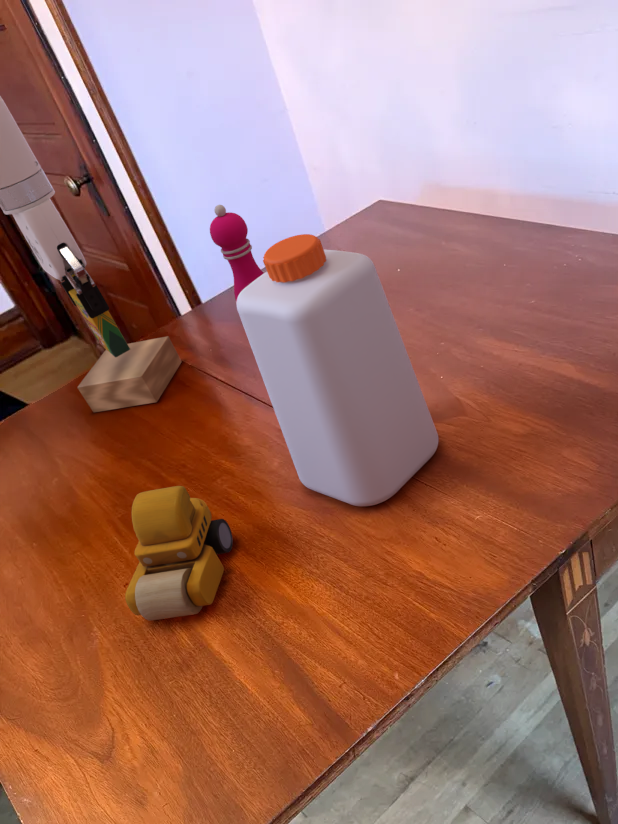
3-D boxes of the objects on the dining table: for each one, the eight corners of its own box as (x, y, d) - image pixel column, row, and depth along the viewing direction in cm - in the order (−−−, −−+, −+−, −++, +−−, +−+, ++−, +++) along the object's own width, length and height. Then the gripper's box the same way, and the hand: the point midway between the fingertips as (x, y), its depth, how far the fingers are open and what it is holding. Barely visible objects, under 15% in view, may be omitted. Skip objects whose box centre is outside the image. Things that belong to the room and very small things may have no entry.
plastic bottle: (289, 486, 94) (189, 277, 75) (365, 416, 100) (291, 209, 82) (377, 519, 85) (288, 292, 66) (454, 440, 91) (394, 214, 73)
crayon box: (100, 346, 122) (60, 280, 114) (116, 337, 123) (78, 271, 115) (114, 358, 117) (74, 290, 109) (131, 349, 118) (92, 280, 110)
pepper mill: (239, 325, 132) (188, 213, 119) (270, 305, 135) (224, 193, 121) (261, 333, 127) (210, 217, 114) (293, 312, 130) (247, 196, 117)
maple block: (93, 412, 122) (76, 387, 119) (122, 372, 131) (107, 347, 127) (157, 402, 119) (141, 375, 116) (182, 361, 128) (168, 335, 124)
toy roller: (138, 632, 82) (86, 567, 75) (172, 540, 92) (130, 476, 85) (212, 621, 80) (166, 553, 73) (238, 529, 90) (200, 462, 83)
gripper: (-15, 196, 108) (55, 306, 120) (13, 212, 96) (87, 333, 108) (33, 174, 111) (96, 285, 122) (65, 187, 99) (132, 308, 110)
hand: (91, 307), depth 115 cm, fingers closed on crayon box, 7 cm apart
